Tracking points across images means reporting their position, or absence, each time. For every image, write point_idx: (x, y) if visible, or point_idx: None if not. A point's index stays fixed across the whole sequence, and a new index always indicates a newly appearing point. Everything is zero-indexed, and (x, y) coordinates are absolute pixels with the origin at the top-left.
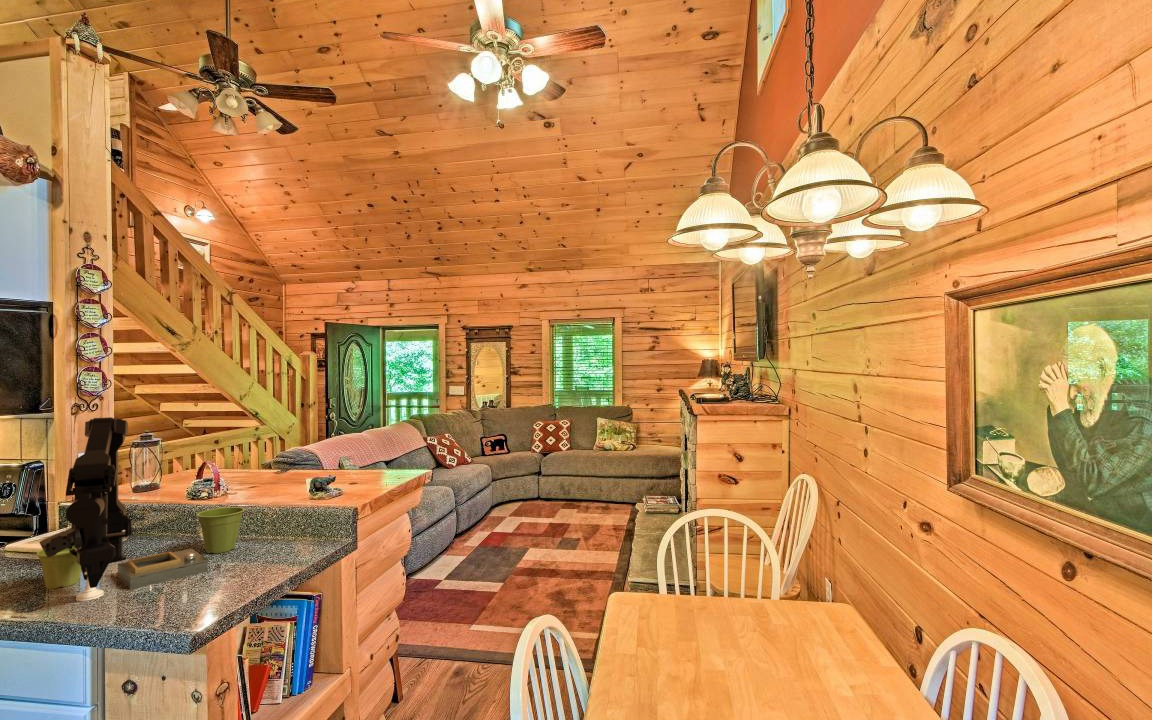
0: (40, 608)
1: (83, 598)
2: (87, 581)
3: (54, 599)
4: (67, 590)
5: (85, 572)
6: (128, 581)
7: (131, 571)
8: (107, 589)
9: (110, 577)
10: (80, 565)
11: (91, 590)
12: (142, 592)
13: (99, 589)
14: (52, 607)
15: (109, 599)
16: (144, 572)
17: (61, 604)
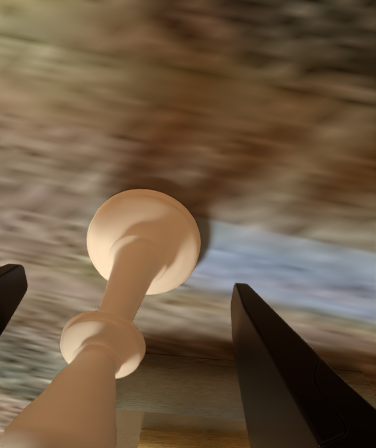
0: (150, 13)
1: (95, 214)
2: (112, 282)
3: (266, 115)
4: (372, 198)
5: (98, 327)
6: (137, 378)
7: (185, 428)
8: (196, 307)
9: (370, 353)
10: (306, 361)
11: (109, 261)
12: (40, 361)
13: (159, 289)
14: (111, 74)
15: (36, 279)
16: (117, 445)
17: (130, 123)
